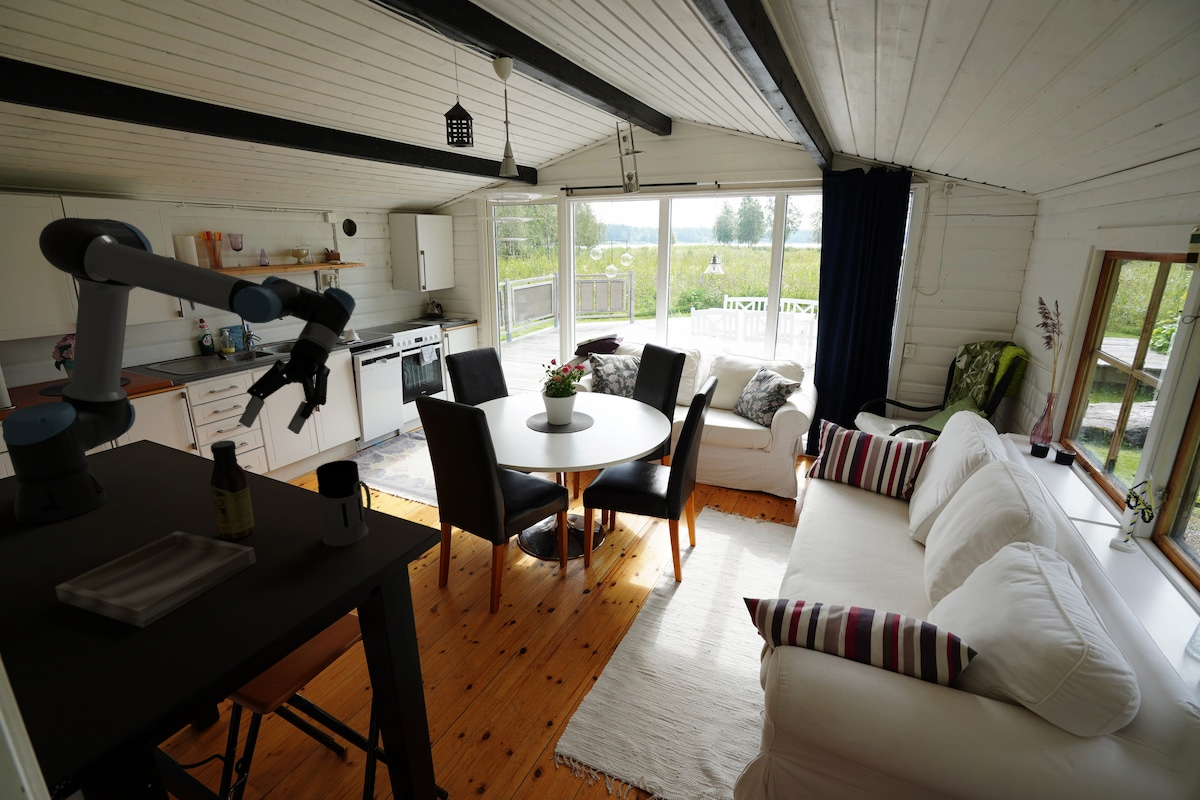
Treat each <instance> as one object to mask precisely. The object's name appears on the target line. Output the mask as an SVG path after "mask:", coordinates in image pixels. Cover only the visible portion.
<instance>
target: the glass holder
mask: <svg viewBox="0 0 1200 800" xmlns="http://www.w3.org/2000/svg"><path fill="white" fill-rule="evenodd" d="M358 465H359V464H358V462H357V461H354V460H348V459H342V460H334V461H329V462H326V463H323V464H321V465H319V466H318V467H316V469H315V472H316V478H317V479H316V481H317V492H318V501H319V507H320V514H321V521H322V528H323V536H322V539H321V540H322V543H324V544H325V545H327V546H330V545H331V546H332V547H343V546H348V545H352V543H353V544H355V542H356V543H358V542H360V541H362V540H364V539H365V538H366V537H367V536H368V535H369V533H368V532H370V530H369V527H367V524H366V520H367V519H368V518H369V516H370V512H371V507H372V502H371V493H370V489H369V487H368V485H367V484H366V483H365V481H363V480H360V475H359V473H360V472H359V467H358ZM362 487H363V489H364V491H365V496H366V511H365V508H364V507H365V506H364V501H363V500H364V499H363V491H362ZM367 534H368V535H367ZM366 535H367V536H366ZM365 536H366V537H365ZM364 537H365V538H364ZM363 538H364V539H363ZM361 539H362V540H361Z"/></svg>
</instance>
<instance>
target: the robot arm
mask: <svg viewBox="0 0 1200 800" xmlns="http://www.w3.org/2000/svg"><path fill="white" fill-rule="evenodd" d="M38 237H39V238H38V242H39V243H38V245H39V249H40V252H41V253H42V255H43V257H44V258H45V260H46V261H47V262H48V263H49V264H50V265H52V266H53V267H54V268H56V269H58V270H59V271H62V272H63V273H66V274H69V275H70V276H71V277H72V278H73V279H74V280H76V281H77V282H78V284H79V287H78V288H79V289H78V298H77V299H78V302H77V315H76V327H75V338H74V348H73V351H74V352H73V362H72V363H73V364H72V375H71V377H72V378H71V383H69V384H67V385H66V386H64V387H63V388H62V389H61V400H60V401H48V402H43V403H42V402H41V403H37V404H35V405H34V404H33V405H29V406H25V407H22V408H19V409H16V410H14V411H12V412H10V413H8V414H7V415H6V416H5V417H4V418H3V419H2V422H1V429H2V432H3V433H2V439H3V441H4V442H5V446H6V449H7V452H8V453H7V454H8V455H9V458H10V462H11V465H12V469H13V472H14V475H15V478H16V482H17V490H16V494H15V500H14V506H13V513H14V516H15V520H16V521H17V522H18V523H21V524H27V525H28V524H29V525H30V524H32V525H33V524H34V525H35V524H44V523H51V522H58V521H61V520H66V519H70V518H74V517H77V516H79V515H82V514H83V515H84V514H86V513H89V512H91V511H93V510H95V509H97V508H99V507H101V506H103V504H105V503H106V502H107V500H108V496H107V492H106V490H105V488H104V487H103V485H102V484H101V483H100V482H99V480H98V478H97V477H96V476H95V475H94V474H93V472H92V471H91V470H90V467H89V463H88V458H87V455H86V452H88V451H91V450H93V449H95V448H97V447H99V446H103V445H105V444H106V443H110V442H112V441H115V440H117V439H118V438H120V437H122V436H123V435H124V434H126V433H127V432H128V431H130V429H132V427H133V425H134V423H135V420H136V409H135V406H134V404H132V403H131V400H130V399H129V397H128V393H127V391H126V390H125V389H124V388H122V386H121V378H122V377H121V376H122V367H123V357H124V349H125V338H126V337H125V336H126V327H127V321H128V320H127V317H128V309H129V307H128V306H129V298H130V291H133V290H134V289H136V288H139V289H140V288H141V289H143V290H147V291H151V292H152V291H153V292H154V293H155V292H156V293H160V294H163V295H166V296H171V297H174V298H178V299H182V300H185V301H189V302H192V303H195V304H200V305H204V306H207V307H210V308H214V309H218V310H221V311H225V312H229V313H233V314H235V315H237V316H238V317H240V318H241V319H242V320H243V321H245V322H248V323H251V324H267V323H270V322H273V321H275V320H279V319H282V318H286V317H293V318H295V319H299V320H302V321H304V322H306V324H305V325H304V326H303V329H302V330H301V332H300V333H299V335H298V338H297V340H295V342H294V344H293V346H292V347H291V349H290V351H289V355H290V359H289V360H288V361H287V362H283V361H282V360H281V359H277V360H276V361H275V363H274V364H273V365H272V367H271V368H269V369H268V370H267V371H266V372H265V373H264V374H263V375H262V376H261V377H259V378H258V379H257V380H256V381H255V382H254V383H253V384H252V385H251V386H250V387H249V388H248V389H247V390H246V393H247V394H249V395H250V396H251V398H250V400H249V401H248V403H247V404H246V405H245V408H244V411H243V413H242V415H241V416H240V418H239V420H238V423H240V424H241V425H243V426H244V427H246V428H249V429H250V428H252V426H253V424H254V423H255V420H256V419H257V417H258V415H259V414H260V412H261V410H262V408H263V407H264V405H265V403H266V402H265V400H266V399H267V398H269V397H270V396H271V395H273V394H275V393H276V392H277V391H279V390H280V389H282V388H283V387H285V386H286V385H290V384H302V388H303V389H302V390H303V393H304V397H305V398H303V400H304V401H303V400H302V401H301V402H300V404H299V406H298V407H297V409H296V411H295V413H294V415H293V416H292V418H291V420H290V422H289V424H288V425H287V427H286V428H287V429H288V430H290V431H291V432H293V433H294V434H296V435H299V434H300V433H301V431H302V428H303V427H304V425H305V423H306V421H307V420H309V418H310V417H311V415H312V413H313V411H314V409H315V408H317V407H318V406H320V405H321V406H324V405H326V403H327V395H328V394H327V392H328V379H329V375H330V373H331V368H329V367H328V366H327V365H326V363H327V361H328V359H329V357H330V354H331V353H332V351H333V350H334V348H335V346H336V345H337V342H338V340H339V338H340V336H341V334H342V333H343V331H344V329H345V328H346V326H347V324H348V322H349V320H351V316H352V315H353V312H354V309H355V308H356V301H355V298H354V297H353V296H352V295H351V294H350V293H349V292H347V291H346V290H344V289H341V288H339V287H334V286H333V287H328V288H326V289H325V291H323V293H322V292H320V291H316V290H313V289H310V288H308V287H305V286H302V285H300V284H298V283H294V282H292V281H290V280H288V279H287V278H286V279H285V278H281V277H279V276H278V277H277V276H274V275H269V276H267V277H266V278H265V279H263V281H262V282H261V283H257V282H253V281H251V280H246V279H243V278H240V277H236V276H233V275H229V274H226V273H222V272H219V271H215V270H213V269H208V268H206V267H201V266H199V265H194V264H193V263H192V264H191V263H188V262H184V261H182V260H181V261H180V260H177V259H174V258H170V257H167V256H163V255H160V254H158V253H157V254H156V253H154V251H153V246H152V244H151V242H150V240H149V238H148V237H147V236H146V235H145V234H144V233H143V232H142V230H140V229H139V228H137V227H136V226H134V225H133V224H131V223H128V222H125V221H122V220H115V219H109V218H102V219H101V218H83V217H63V218H58V219H55V220H53V221H51V222H49V223H48V224H47V225H46V226H45V227H43V229H42V231H41V232H40V234H39V236H38ZM314 377H315V378H314Z"/></svg>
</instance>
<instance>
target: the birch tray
mask: <svg viewBox="0 0 1200 800" xmlns="http://www.w3.org/2000/svg"><path fill="white" fill-rule="evenodd" d="M255 552H256V551H255V548H254V547H251V546H247V545H242V544H237V543H233V542H229V541H225V540H224V541H223V540H221V539H214V538H210V537H206V536H201V535H196V534H193V533H187V532H183V531H178V530H176V531H174V532H172V533H169V534H167V535H166V536H164V537H161V538H159V539H157V540H155V541H152V542H150V543H148V544H145V545H143V546H142V547H139V548H137V549H134V550H132V551H131V552H129V553H126V554H124V555H121V556H119V557H117V558H115V559H113V560H111V561H108V562H106V563H104V564H102V565H100V566H98V567H95V568H93V569H90V570H89V571H87V572H85V573H82V574H80V575H77V576H75V577H74V578H71V579H69V580H67V581H65V582H63V583H60V584H59V585H56V586H54V588H55V592H56V595H57V596H56V597H57V599H58V602H59V601H61V602H65V603H68V604H72V605H75V606H78V607H81V608H83V609H86V610H89V611H91V612H90V613H92V612H94V613H93V614H95V613H98V614H101V615H100V616H102V615H104V616H103V617H105V616H108V617H111V618H110V619H112V618H114V619H113V620H115V619H117V620H116V621H118V620H120V621H119V622H122V621H123V622H122V623H125V622H126V624H128V623H129V625H132V626H135V627H139V628H141V629H144V628H146V627H147V626H149V625H151V624H152V623H155V622H156V621H158V620H159V619H161V618H163V617H165V616H166V615H168V614H170V613H172V612H174V611H175V610H177V609H178V608H180V607H182V606H183V605H186V604H187V603H189V602H190V601H192V600H194V599H195V598H198V597H199V596H200V595H201V596H202V594H204V593H206V592H208V591H209V590H211V589H213V588H215V587H216V586H218V585H220V584H221V583H223V582H225V581H227V580H228V579H230V578H231V577H234V576H235V575H237V574H238V573H240V572H242V571H243V570H245V569H247V568H249V567H251V566H253V565H254V564H255V563H257V559H256V553H255ZM98 614H97V615H98ZM108 617H107V618H108Z"/></svg>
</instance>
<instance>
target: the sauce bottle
mask: <svg viewBox="0 0 1200 800" xmlns="http://www.w3.org/2000/svg"><path fill="white" fill-rule="evenodd" d="M236 449H237V447H236V442H235V441H234V440H229V439H228V440H220V441H216V442H213V443H212V444H211V445H210V451H211V453H212V457H213V463H214V464H213V465H214V466H213V469H212V473H211V479H210V482H209V486H210V491H211V496H212V502H213V507H214V513H215V518H216V524H217V529H218V531H219V535H220V537H221V538H222V539H225V540H229V541H231V540H232V541H233V540H237V539H242V538H244V537H246V536H249V535H250V534H252V533H253V532H254V530H255V525H254V524H255V520H254V519H255V518H254V513H253V506H252V502H251V495H250V488H249V484H248V479H247V474H246V470H245V469H244V468H243V466H241V465H239V463H238V458H237V453H236Z"/></svg>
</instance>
